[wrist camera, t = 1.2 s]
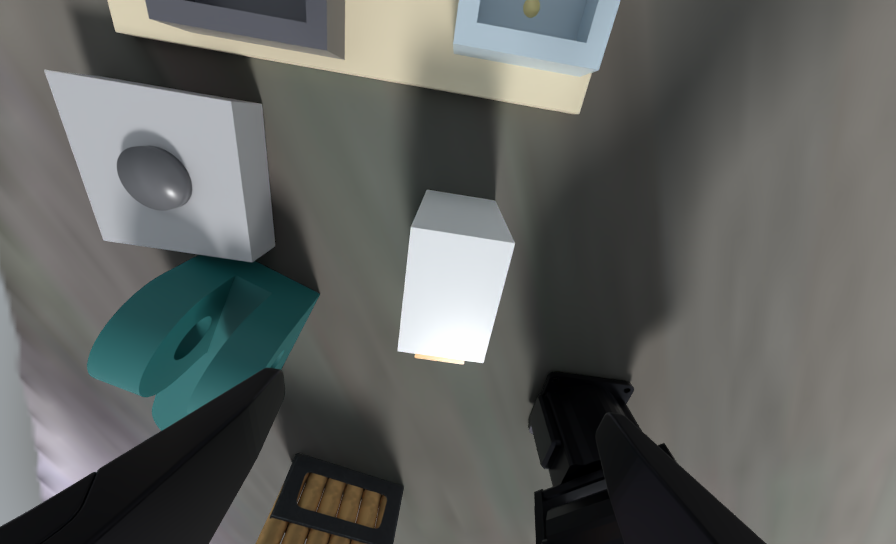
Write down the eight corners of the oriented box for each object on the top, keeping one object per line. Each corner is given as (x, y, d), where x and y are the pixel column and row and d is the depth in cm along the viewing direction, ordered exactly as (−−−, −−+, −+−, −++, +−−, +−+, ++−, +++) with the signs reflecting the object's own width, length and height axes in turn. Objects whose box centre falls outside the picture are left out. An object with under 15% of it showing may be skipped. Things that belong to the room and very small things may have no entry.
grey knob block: (261, 103, 16) (221, 100, 14) (275, 245, 20) (245, 266, 17) (102, 76, 16) (27, 67, 13) (144, 226, 19) (92, 244, 17)
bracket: (222, 242, 20) (95, 309, 13) (321, 292, 22) (254, 377, 14) (168, 408, 27) (65, 511, 20) (246, 437, 28) (176, 543, 21)
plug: (495, 200, 18) (514, 243, 12) (473, 298, 21) (480, 374, 15) (426, 189, 18) (410, 226, 12) (414, 289, 21) (396, 362, 15)
